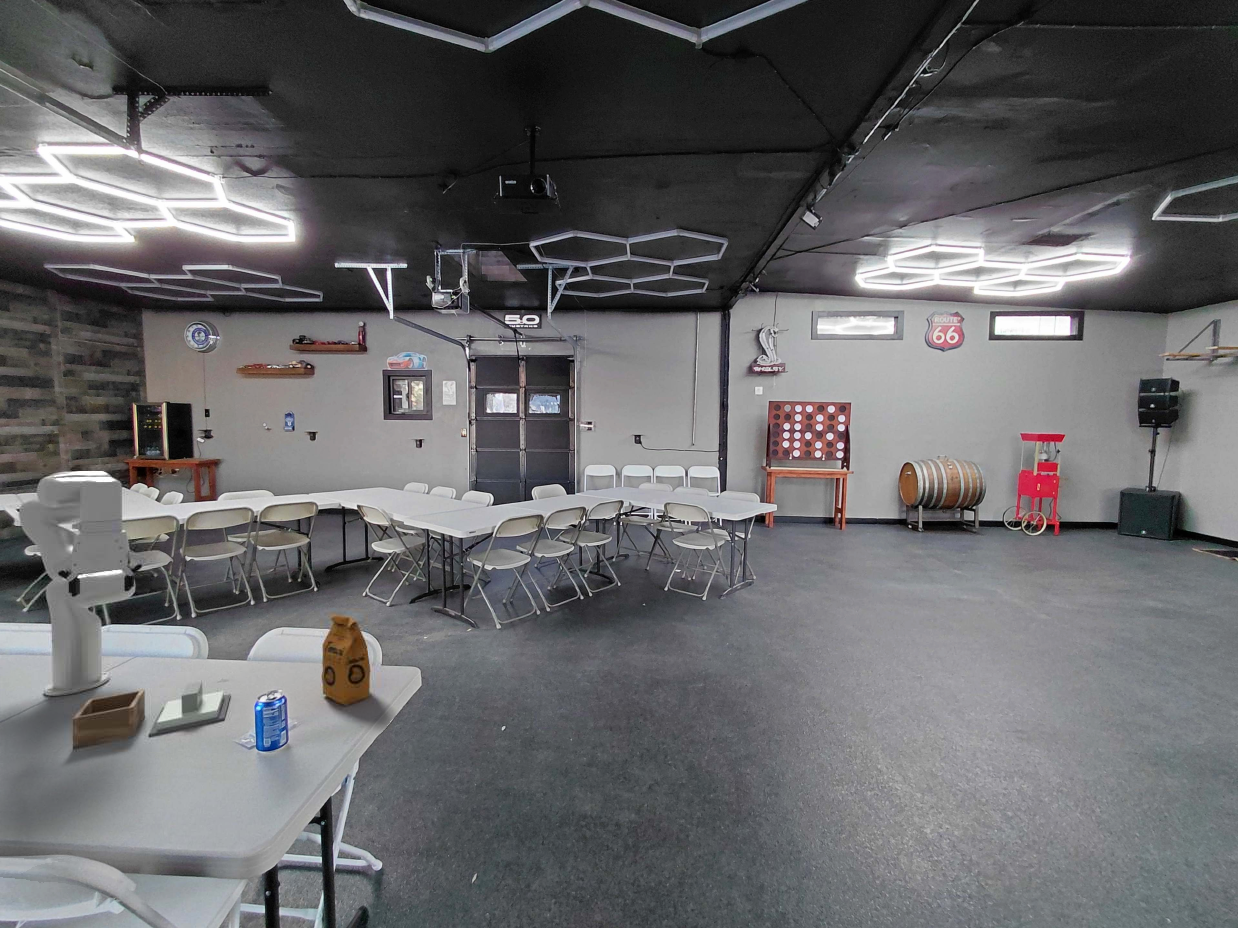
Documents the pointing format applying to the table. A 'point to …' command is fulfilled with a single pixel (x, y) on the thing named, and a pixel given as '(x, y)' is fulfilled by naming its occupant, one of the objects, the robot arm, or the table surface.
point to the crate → (108, 718)
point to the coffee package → (345, 662)
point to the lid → (191, 707)
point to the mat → (193, 724)
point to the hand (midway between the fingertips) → (102, 592)
